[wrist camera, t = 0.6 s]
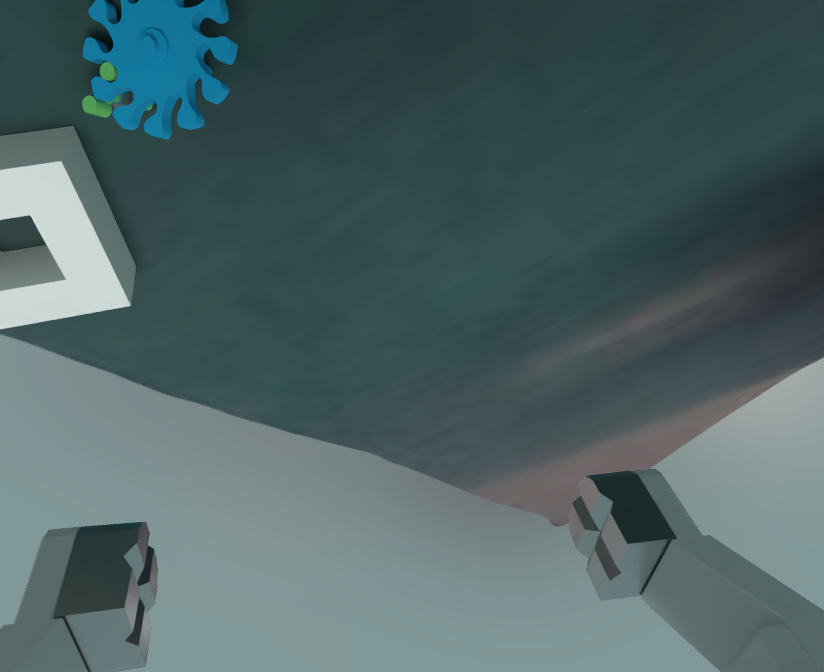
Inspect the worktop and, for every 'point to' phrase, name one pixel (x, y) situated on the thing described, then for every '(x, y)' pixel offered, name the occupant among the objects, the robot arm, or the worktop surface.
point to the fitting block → (59, 233)
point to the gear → (156, 62)
